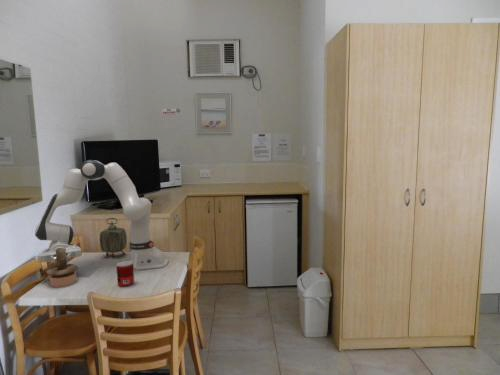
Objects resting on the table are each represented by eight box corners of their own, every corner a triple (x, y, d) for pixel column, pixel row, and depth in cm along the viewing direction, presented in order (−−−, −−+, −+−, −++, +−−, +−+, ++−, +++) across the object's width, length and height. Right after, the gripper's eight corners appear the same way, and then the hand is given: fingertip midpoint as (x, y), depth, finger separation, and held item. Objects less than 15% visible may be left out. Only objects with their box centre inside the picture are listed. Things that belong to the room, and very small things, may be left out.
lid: (81, 265, 192) (80, 245, 191) (69, 275, 178) (68, 253, 177) (55, 266, 192) (53, 246, 190) (41, 275, 178) (39, 254, 176)
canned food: (137, 282, 185) (136, 261, 184) (126, 288, 178) (124, 266, 176) (126, 280, 188) (124, 259, 187) (114, 285, 181) (113, 264, 180)
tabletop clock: (127, 254, 234) (125, 216, 231) (123, 258, 225) (120, 219, 222) (105, 254, 234) (102, 216, 231) (99, 259, 225) (96, 219, 222)
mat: (100, 267, 209) (100, 266, 209) (88, 277, 193) (88, 276, 193) (72, 268, 208) (71, 267, 208) (58, 278, 192) (58, 277, 192)
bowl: (80, 278, 192) (79, 269, 191) (70, 287, 180) (69, 277, 179) (57, 279, 191) (56, 270, 191) (45, 288, 180) (44, 278, 179)
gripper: (36, 249, 189) (37, 256, 178) (79, 243, 200) (82, 249, 188) (37, 261, 190) (38, 268, 178) (79, 254, 201) (83, 260, 189)
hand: (61, 258), depth 183 cm, fingers closed on lid, 4 cm apart
